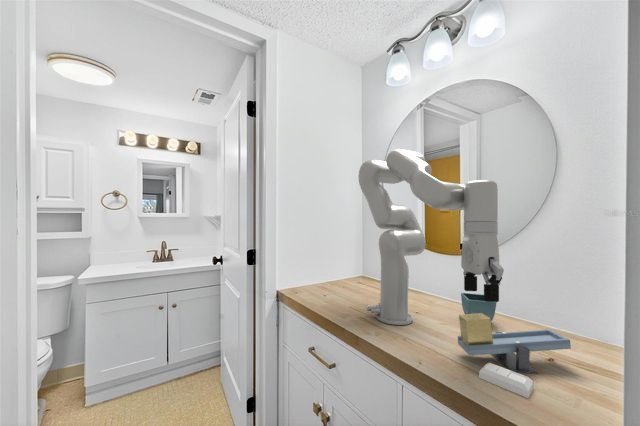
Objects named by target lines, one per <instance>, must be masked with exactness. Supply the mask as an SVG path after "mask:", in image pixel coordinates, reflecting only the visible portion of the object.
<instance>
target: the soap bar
mask: <svg viewBox="0 0 640 426" xmlns="http://www.w3.org/2000/svg"><path fill="white" fill-rule="evenodd" d="M478 378H479V379H482V380H483V381H486V382H489V383H490V384H493V385H495V386H499V387H500V388H502V389H505V390H508V391H510V392H512V393H515V394H516V395H518V396H519V395H520V396H522V397H524V398H527V399H529V397H530V396H531V394H532V392H533V391H534V390H533V389H534V381H533V380H532V379H531V378H530V377H529V376H526V375H523V374H522V373H516V372H513V371H511V370H509V369H507V368H506V367H502V366H500V365H497V364H494V363H491V362H488V363H485V365H483V366H482V367H481V369H480V370H479V371H478Z"/></svg>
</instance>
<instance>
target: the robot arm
mask: <svg viewBox="0 0 640 426" xmlns="http://www.w3.org/2000/svg"><path fill="white" fill-rule="evenodd" d="M432 172H433V170H432V166H431V164H429V163H428V162H426V159H425V156H424V155H423V154H421V153H420V152H418V151H413V150H409V149H402V148H397V149H393V150H391V151H390V152H389V153H388V154H387V156H386V158H385V160H381V159H380V160H379V159H371V160H366V161H364V162H363V163H362V164H361V165H360V167H359V170H358V184H359V187H360V189H361V192H362V193H363V196H364V197H365V199H366V201H367V204H368V207H369V210H370V213H371V215H372V218H373V221H374V224H375V225H376V226H377V227H378V228H379V229H381V230H385V231H384V232H382V233H381V234H380V236H379V239H378V249H379V254H380V294H379V295H380V298H379V299H380V300H379V302H377V304H375V305H373V304H372V305H369V304H368V305H366V311H367V312H371V313H373V314H375V318H376V319H377V320H378V321H380V322H382V323H384V324H389V325H392V326H405V325H406V326H407V325H409V324H412V322H413V316H412V315H411V314H409V311H408V308H409V278H410V277H409V275H410V274H409V266H408V263H407V261H406V260H407V259H405V256H406V257H408V256H410V257H411V256H418V255H421V254H422V253H423V252H424V250H425V249H426V238H425V234H424V233H423V230H422V229H421V226H420V223H419V221H418V219H417V217H416V214H415V213H414V211H413V210H412V209H411V208H410V207H409V206H406V205H403V204H395V203H393V201H392V200H391V198H390V195H389V192H388V191H387V190H386V189H385V187H383V186H382V185H381V184H389V185H390V184H392V185H395V184H399V183H402V182H406V183H407V184H409V187H410V190H411V192H412V194H413V195H414V196H415V197H416V198H417V199H418V200H420V201H421V202H422V203H424V204H425V205H426V206H429V207H430V208H432V209H435V210H449V211H463V237H462V246H461V259H460V260H461V261H460V262H461V263H460V265H461V269H463V276H464V277H463V285H464V286H463V290H464V291H466V292H477V291H478V276H481V275H482V277H483V280H484V282H485V283H484V284H483V295H484V301H486V302H497V303H498V302H499V301H500V286H501V281H502V280H503V275H504V270H505V269H504V267H503V266H501V264H500V248H499V241H498V234H499V233H498V228H499V227H498V225H499V223H498V221H499V219H498V215H499V214H498V208H499V207H498V203H499V202H498V191H499V190H498V189H499V188H498V184H497V182H496V181H494V180H490V179H489V180H488V179H485V180H484V179H479V180H471V181H467V182H466V183H465V184H461V183H454V182H447V181H441V180H439V179H437V178H436V177H434V176H432ZM380 183H381V184H380ZM476 275H477V276H476Z"/></svg>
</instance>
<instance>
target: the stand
mask: <svg viewBox="0 0 640 426" xmlns="http://www.w3.org/2000/svg"><path fill="white" fill-rule="evenodd" d="M495 333H502V332H501V331H495ZM530 354H531V352H530V349H528V348H527V347H516V353H501V354H491V355H492V356H493V358H495V359H496V360H497V361H498V362H499V363H500V364H502V365H503V366H504V368H505V369H508V370H511V371H513V372H516V373H519V374H535V375H538V374H539V371H538V370H537V369H536V368H534V367H533V366H532V365H530V361H531V360H530V357H531V356H530Z"/></svg>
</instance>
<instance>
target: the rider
mask: <svg viewBox="0 0 640 426" xmlns="http://www.w3.org/2000/svg"><path fill="white" fill-rule="evenodd" d="M458 319H459V328H460V336H461V340H462V342H463V343H464V344H465V345H466V346H467V345H482V344H493V338H492V333H493V329H492V321H491V319H490V318H489V317H487V316H486V315H484V314H483V313H477V314H465V313H464V314H458Z"/></svg>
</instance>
